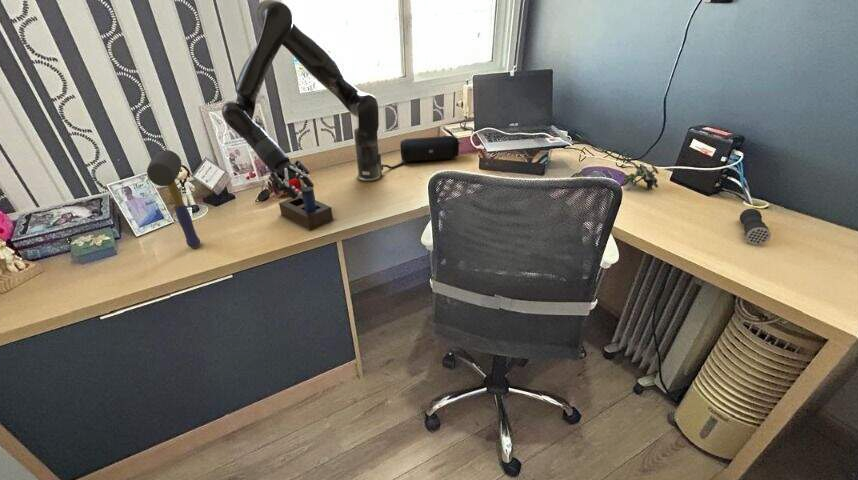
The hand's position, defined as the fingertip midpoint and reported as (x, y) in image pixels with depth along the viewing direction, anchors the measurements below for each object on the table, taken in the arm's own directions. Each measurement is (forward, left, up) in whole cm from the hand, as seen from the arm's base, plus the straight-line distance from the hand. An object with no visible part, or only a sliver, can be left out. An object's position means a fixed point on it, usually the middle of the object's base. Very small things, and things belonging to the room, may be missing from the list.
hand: (304, 192), depth 141 cm
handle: (0, +2, -10) cm, 10 cm away
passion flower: (-96, +77, -11) cm, 124 cm away
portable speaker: (-72, -6, -11) cm, 73 cm away
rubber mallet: (+36, -13, -11) cm, 39 cm away
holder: (0, -2, -10) cm, 11 cm away
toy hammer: (-9, -20, -11) cm, 25 cm away
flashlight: (-83, +115, -11) cm, 142 cm away
